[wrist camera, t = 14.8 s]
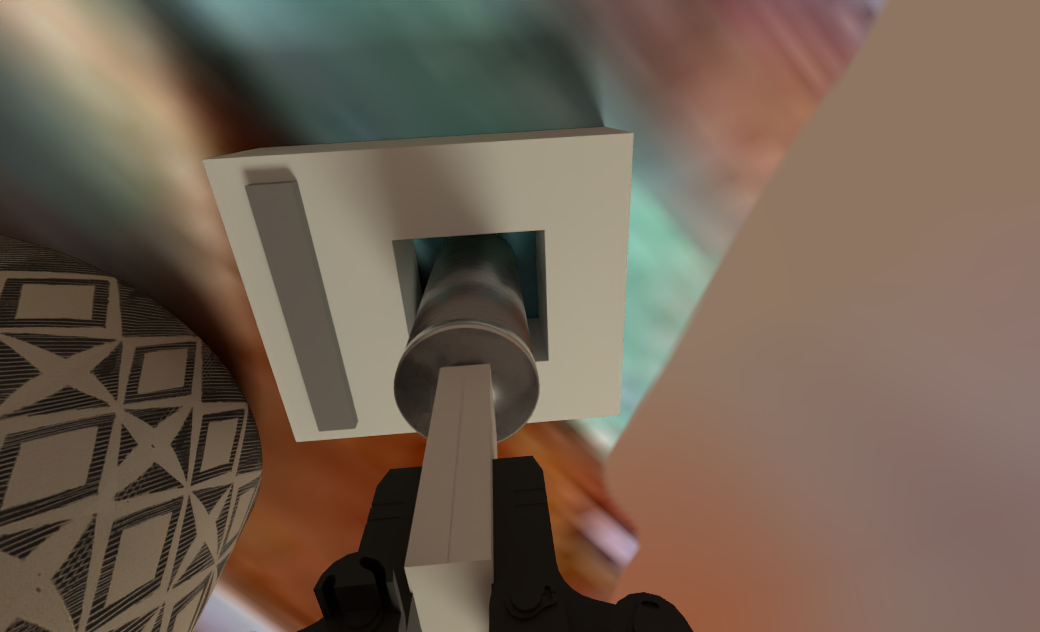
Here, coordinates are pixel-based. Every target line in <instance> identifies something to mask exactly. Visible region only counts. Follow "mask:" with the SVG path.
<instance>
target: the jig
mask: <svg viewBox="0 0 1040 632" xmlns="http://www.w3.org/2000/svg"><path fill="white" fill-rule="evenodd" d="M633 135H634V133H632V132H627V131H622V130H618V129H613V128H609V127H592V128H576V129H559V130H543V131H527V132H511V133H494V134H478V135H462V136H446V137H429V138H413V139H397V140H380V141H364V142H348V143H332V144H315V145H299V146H283V147H266V148H257V149H252V150H247V151H242V152H237V153H233V154H228V155H223V156H218V157H213V158H208V159H203V160H202V161H203V164H204V167H205V170H206V173H207V176H208V179H209V182H210V185H211V188H212V191H213V194H214V197H215V200H216V203H217V206H218V209H219V212H220V215H221V218H222V221H223V224H224V227H225V230H226V233H227V236H228V239H229V242H230V245H231V248H232V251H233V254H234V257H235V260H236V263H237V266H238V269H239V272H240V275H241V278H242V281H243V284H244V287H245V290H246V293H247V296H248V299H249V302H250V305H251V308H252V311H253V314H254V317H255V320H256V323H257V326H258V329H259V332H260V335H261V338H262V341H263V344H264V347H265V350H266V353H267V356H268V359H269V362H270V365H271V368H272V371H273V374H274V377H275V380H276V383H277V386H278V389H279V392H280V395H281V398H282V401H283V404H284V407H285V410H286V413H287V416H288V419H289V422H290V425H291V428H292V431H293V434H294V437H295V440H296V442H302V441H314V440H326V439H338V438H351V437H363V436H375V435H387V434H399V433H411V432H416V431H415V430H414V429H413V428H412V427H411V426H410V425H409V424H408V423H407V422H406V420H405V419H404V418H403V416H402V415H401V413H400V411H399V409H398V407H397V404H396V401H395V397H394V378H395V373H396V370H397V367H398V364H399V361H400V358H401V356H402V354H403V352H404V350H405V348H406V345H407V342H408V339H409V336H410V333H411V330H412V327H413V324H414V321H415V318H416V315H417V312H418V309H419V306H420V303H421V300H422V298H423V296H422V289H421V283H420V276H419V270H418V264H417V257H416V251H415V245H414V239H418V238H432V237H447V236H462V235H476V234H491V233H505V232H520V231H534V230H535V235H536V260H537V285H538V311H539V318H528V319H527V323H528V329H529V335H530V340H531V346H532V351H533V357H534V360H535V363H536V366H537V371H538V376H539V384H540V391H539V398H538V402H537V405H536V408H535V410H534V412H533V414H532V416H531V417H530V419H529V420H528V421H527V423H532V422H544V421H556V420H568V419H580V418H592V417H604V416H617V415H620V400H621V379H622V359H623V339H624V318H625V298H626V277H627V257H628V237H629V216H630V196H631V176H632V155H633Z"/></svg>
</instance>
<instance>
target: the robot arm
mask: <svg viewBox="0 0 1040 632" xmlns="http://www.w3.org/2000/svg"><path fill="white" fill-rule="evenodd" d="M313 590H314V592H315V595H316V598H317V600H318V603H319V606H320V608H321V611H322V613H323V616H324V617H323V618H322V619H320V620H319V621H318V622H316V623H314V624H312V625H310V626H308V627H306V628H304V629H302V630H299V631H297V632H693V630H692V629H691V627H690V626H689V624H688V622H687V621H686V619H685V618H684V617H683V615H682V614H681V613H680V612H679V611H678V610H677V609H676V607H675V606H674V605H673V604H671V603H670V602H668V601H666V600H665V599H663V598H662V597H660V596H657V595H653V594H649V593H645V592H642V593H635V594H629V595H627V596H626V597H625V598H623V599H621V600H620V601H618V602H617V604H616V605H615V604H611V603H607V602H603V601H599V600H595V599H591V598H589V597H586V596H583V595H581V594H579V593H578V592H576V591H575V590H573V589H572V588H571V587H570V586H569V585H568V584H567V583H566V582H565V581H564V579H563V578H562V576H561V574H560V572H559V570H558V567H557V563H556V557H555V551H554V544H553V537H552V530H551V523H550V516H549V510H548V503H547V496H546V490H545V482H544V476H543V470H542V469H541V467H540V466H539V464H538V463H537V462H536V460H535V459H534V458H533V456H524V457H512V458H500V459H497V433H496V423H495V412H494V401H493V391H492V380H491V370H490V364H479V365H466V366H453V367H440V372H439V378H438V384H437V389H436V395H435V400H434V406H433V411H432V417H431V422H430V428H429V433H428V439H427V444H426V450H425V455H424V461H423V466H422V467H410V468H398V469H390V470H389V471H388V473H387V474H386V475H385V476H384V478H383V479H382V480H381V482H380V483H379V484H378V485H377V488H376V491H375V495H374V498H373V502H372V508H371V509H370V512H369V516H368V519H367V524H366V526H365V529H364V533H363V536H362V540H361V543H360V547H359V550H358V552H355V553H352V554H348V555H346V556H345V557H343V558H341V559H339V560H338V561H336V562H334V563H333V564H332V565H331V566H330V567H329V568H328V569H327V570H326V571H325V572H324V573H323V574H322V575H321V577H320V578H319V580H318V582H317V584H316V586H315V587H314V589H313Z"/></svg>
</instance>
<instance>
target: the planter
mask: <svg viewBox="0 0 1040 632" xmlns="http://www.w3.org/2000/svg"><path fill="white" fill-rule="evenodd" d="M261 476H262V451H261V443H260V438H259V433H258V429H257V426H256V423H255V419H254V417H253V414H252V412H251V409H250V407H249V405H248V403H247V401H246V399H245V397H244V395H243V393H242V391H241V390H240V388H239V386H238V385H237V383H236V381H235V380H234V378H233V377H232V375H231V374H230V373H229V371H228V370H227V368H226V367H225V366H224V365H223V363H222V362H221V361H220V360H219V358H218V357H217V356H216V355H215V354H214V352H213V351H212V350H211V349H210V348H209V347H208V346H207V345H206V344H205V343H204V342H203V341H202V340H201V339H200V338H199V337H198V336H197V335H196V334H195V333H194V332H193V331H192V330H191V329H190V328H189V327H188V326H186V325H185V324H184V323H183V322H182V321H180V320H179V319H178V318H177V317H176V316H174V315H173V314H172V313H171V312H169V311H168V310H167V309H165V308H164V307H162V306H161V305H160V304H158V303H157V302H156V301H154V300H153V299H151V298H150V297H148V296H147V295H145V294H144V293H142V292H140V291H139V290H137V289H136V288H134V287H132V286H131V285H129V284H127V283H125V282H124V281H122V280H120V279H118V278H117V277H115V276H113V275H111V274H109V273H107V272H105V271H103V270H101V269H99V268H97V267H95V266H92V265H90V264H88V263H85V262H83V261H81V260H79V259H76V258H74V257H71V256H68V255H66V254H63V253H61V252H58V251H55V250H52V249H49V248H46V247H43V246H40V245H36V244H33V243H30V242H26V241H22V240H18V239H14V238H10V237H5V236H0V632H193V630H194V628H195V626H196V624H197V622H198V620H199V618H200V616H201V614H202V612H203V610H204V608H205V606H206V604H207V602H208V600H209V598H210V596H211V594H212V591H213V589H214V587H215V585H216V583H217V581H218V579H219V577H220V575H221V573H222V571H223V569H224V567H225V565H226V563H227V561H228V559H229V557H230V554H231V552H232V550H233V548H234V546H235V544H236V542H237V540H238V538H239V536H240V534H241V532H242V530H243V528H244V526H245V524H246V522H247V520H248V518H249V515H250V513H251V511H252V509H253V507H254V504H255V502H256V499H257V496H258V492H259V488H260V484H261Z"/></svg>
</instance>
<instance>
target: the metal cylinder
mask: <svg viewBox="0 0 1040 632" xmlns="http://www.w3.org/2000/svg"><path fill="white" fill-rule="evenodd" d="M479 364H490V370H491V380H492V391H493V401H494V412H495V423H496V433H497V443H498V442H501V441H503V440H505V439H507V438H508V437H510V436H512V435H513V434H515V433H516V432H517V431H518V430H520V429H521V428H522V427H523V426H524V425H525V424H526V423H527V421H528V420H529V419H530V417H531V416H532V414H533V412H534V410H535V408H536V405H537V402H538V398H539V391H540V384H539V376H538V371H537V366H536V363H535V360H534V357H533V351H532V346H531V340H530V335H529V329H528V323H527V318H526V312H525V307H524V301H523V295H522V290H521V284H520V279H519V273H518V267H517V262H516V258H515V255H514V253H513V251H512V249H511V247H510V246H509V245H508V243H507V242H506V241H505V240H504V239H502V238H501V237H500V236H498V235H496V234H495V233H491V234H476V235H462V236H451V237H450V238H448V239H447V240H446V241H445V242H444V243H443V245H442V246H441V247H440V249H439V251H438V253H437V256H436V259H435V262H434V265H433V268H432V271H431V274H430V277H429V280H428V283H427V286H426V289H425V292H424V295H423V298H422V300H421V303H420V306H419V309H418V312H417V315H416V318H415V321H414V324H413V327H412V330H411V333H410V336H409V339H408V342H407V345H406V348H405V350H404V352H403V354H402V356H401V358H400V361H399V364H398V367H397V370H396V373H395V378H394V397H395V401H396V404H397V407H398V409H399V411H400V413H401V415H402V416H403V418H404V419H405V420H406V422H407V423H408V424H409V425H410V426H411V427H412V428H413V429H414V430H415V431H416V432H418V433H419V434H421V435H422V436H424V437H426V438H427V439H428V433H429V428H430V422H431V417H432V411H433V406H434V400H435V395H436V389H437V384H438V378H439V372H440V367H453V366H466V365H479Z"/></svg>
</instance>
